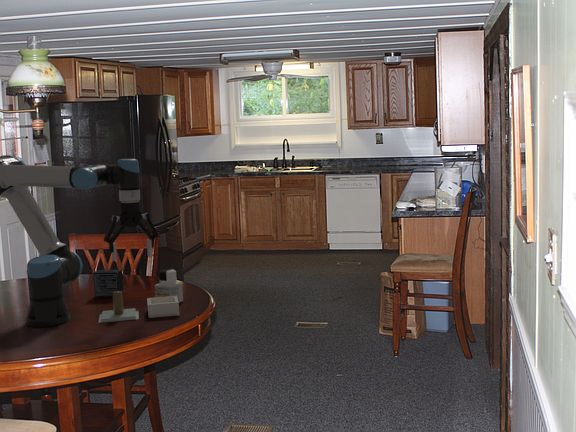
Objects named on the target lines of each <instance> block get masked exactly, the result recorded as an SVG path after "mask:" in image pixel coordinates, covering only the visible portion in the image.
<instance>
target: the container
mask: <svg viewBox="0 0 576 432" xmlns="http://www.w3.org/2000/svg"><path fill="white" fill-rule="evenodd" d="M158 279H159V283H157V284H154V294H155V295H154V298H156V297H167V296H177V298H178V302H179V304H180V303H182V302H183V301H184V297H183V295H184V293H183V283H182V282H181V281H178V279H177V271H176V270H175V269H172V268H166V269H161V270H160V271H159V272H158Z"/></svg>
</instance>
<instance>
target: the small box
mask: <svg viewBox="0 0 576 432" xmlns="http://www.w3.org/2000/svg"><path fill="white" fill-rule="evenodd" d="M92 275H93V276H92V277H93V292H94V298H95V299H96V298H98V299H100V298H101V299H102V298H105V299H106V298H113V293H112V292H114V291H122V296H123V295H124V293H125V292H124V282H123V280H124V279H123V269H102V270H101V269H100V270H99V269H98V270H96V271H94V272H92Z"/></svg>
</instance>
